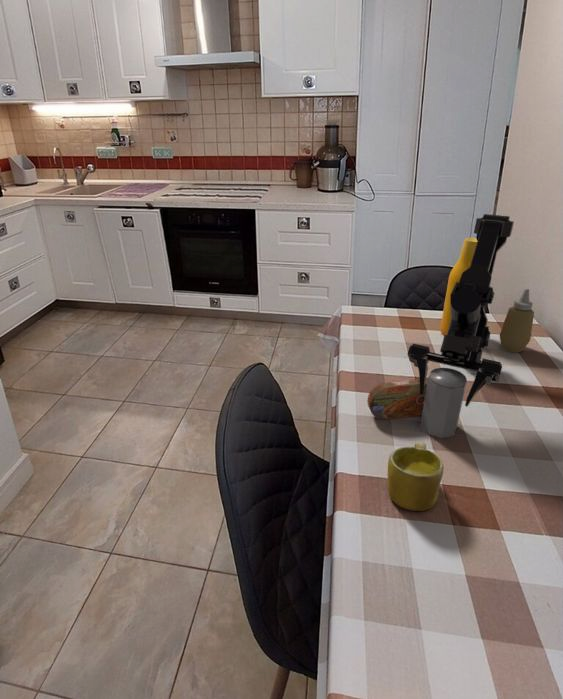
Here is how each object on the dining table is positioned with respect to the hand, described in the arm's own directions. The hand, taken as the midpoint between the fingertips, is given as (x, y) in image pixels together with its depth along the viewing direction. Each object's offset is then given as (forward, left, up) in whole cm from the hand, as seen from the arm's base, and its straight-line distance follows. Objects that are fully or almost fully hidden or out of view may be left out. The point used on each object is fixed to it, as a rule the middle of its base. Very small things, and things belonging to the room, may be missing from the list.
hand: (443, 400), depth 99 cm
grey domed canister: (-1, +1, -8) cm, 8 cm away
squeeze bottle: (-10, +50, -8) cm, 51 cm away
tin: (-9, -2, -8) cm, 13 cm away
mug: (+7, -18, -8) cm, 21 cm away
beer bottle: (-26, +46, -8) cm, 53 cm away
